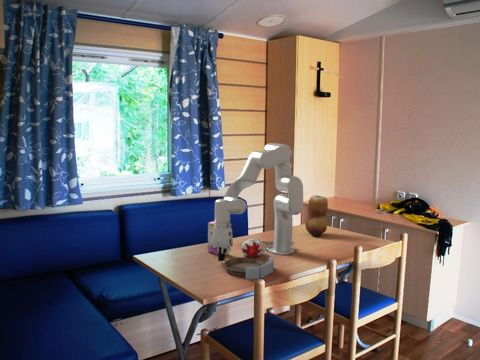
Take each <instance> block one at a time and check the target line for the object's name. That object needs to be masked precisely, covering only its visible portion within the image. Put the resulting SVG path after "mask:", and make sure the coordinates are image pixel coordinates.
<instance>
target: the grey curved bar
mask: <svg viewBox="0 0 480 360" xmlns="http://www.w3.org/2000/svg"><path fill="white" fill-rule="evenodd" d="M274 263H275V260H274V258H273V257H272V256H271V257H270V256H269V257H268V261H267V262H266V263H265V264H263V265H261V266H259V267H249V268H246V276H245V279H246V281H247V280H258V279H262V278H264V277H266V276H268V275H270V274H272V273H273V272H274V269H275V267H274V266H275V264H274Z"/></svg>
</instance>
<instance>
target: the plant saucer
mask: <svg viewBox="0 0 480 360" xmlns="http://www.w3.org/2000/svg"><path fill="white" fill-rule="evenodd" d="M265 263H267V262H266V261H265V260H263V259H260V258H255V257H246V256H243V257H235V258H230V259H227V260H224V262H223V266H224V268H225V269H226V271H228V272H229V273H231V274H233V275H235V274H236V276H241V275H242V276H244V277H246V268H249V267H259V266H261V265H263V264H265Z"/></svg>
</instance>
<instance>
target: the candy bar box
mask: <svg viewBox="0 0 480 360" xmlns="http://www.w3.org/2000/svg"><path fill="white" fill-rule="evenodd" d="M214 226H215V220H214V221H213V220H212V221H210V222H207V253H210V254H213V255H217V256H218V252H217V250H216V248H214V247H213V245H212V232H213V227H214ZM229 253H230V252H229V251H226V253H225V257H226V256H229Z"/></svg>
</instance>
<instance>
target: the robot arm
mask: <svg viewBox="0 0 480 360" xmlns="http://www.w3.org/2000/svg"><path fill="white" fill-rule="evenodd" d="M291 157H292V148H291V147H290V146H289V145H288V144H285V143H284V144H283V143H275V142H269V143H267V144H265V145H264V148H263V151H262V150H254V151H252V152H251V153H250V154H249V156H248V158H247V159H246V162H245V164H244V167H243V169H242V171H241V173H240V174H239V176H238V177H237V178H236V179H235V180H234V181H233V182H232V183H231V184H230V185H229V187H228V188H227V190H226V192H225V194H224V196H223V198H218V199H216V200H215V201H214V221H215V226H214V227H213V232H212V245H213V247H214V248H216V250H217V252H218V255H217V257H218V259H217V261H218V262H223V261H224V262H225V261H226V256H225V253H226V251H232V247H233V245H234V242H233V241H234V239H233V229H232V223H231V214H232V215H241V214H244V212H246V210H247V208H248V207H247V206H248V205H247V202H246V201H245V200H243V199H241V198H239V195H240V194H241V192H242V191H243V190H245V189H247V188H249V187H252V186H253V185H255V184H256V183H257V180H258V178H259V176H260V173H261V171H263V170H262V169H264V170H269V169H271V168H274V173H275V174H274V175H275V176H274V177H275V181H274V183H275V188H276V190H277V191H278V192H281V193H280V194H277V195H276V196H275V197H274V199H273V210H274V211H273V212H274V228H273V230H274V231H273V232H274V234H273V237H274V238H273V247H271V248H270V252H271V253H272V254H276V255H285V256H286V255H292V254H294V253H295V249H294V248H293V247H292V246H294V245H295V242H294V241H293V238H292V237H293V216H297V215H300V214H301V213H302V211H303V209H304V184H303V181H302V180H301V178H300V177H298V176H295V175H292V166H291V161H290V158H291Z"/></svg>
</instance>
